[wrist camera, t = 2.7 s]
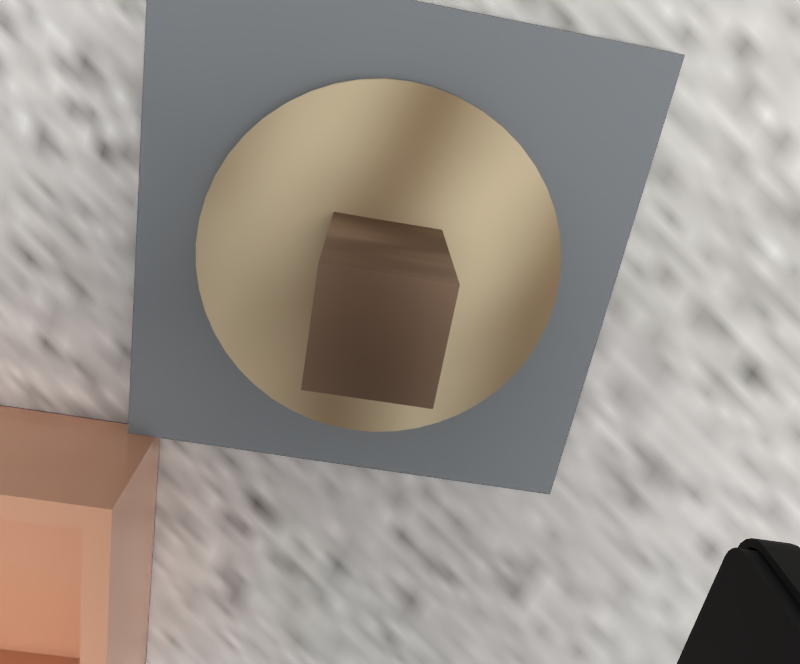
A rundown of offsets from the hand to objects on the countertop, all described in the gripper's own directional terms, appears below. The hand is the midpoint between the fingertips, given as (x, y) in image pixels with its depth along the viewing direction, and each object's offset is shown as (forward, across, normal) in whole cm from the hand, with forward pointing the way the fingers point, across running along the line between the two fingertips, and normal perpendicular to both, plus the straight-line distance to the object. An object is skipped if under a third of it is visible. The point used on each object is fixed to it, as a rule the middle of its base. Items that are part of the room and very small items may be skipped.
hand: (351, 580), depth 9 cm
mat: (+16, 0, +1) cm, 16 cm away
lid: (+16, 0, +1) cm, 16 cm away
